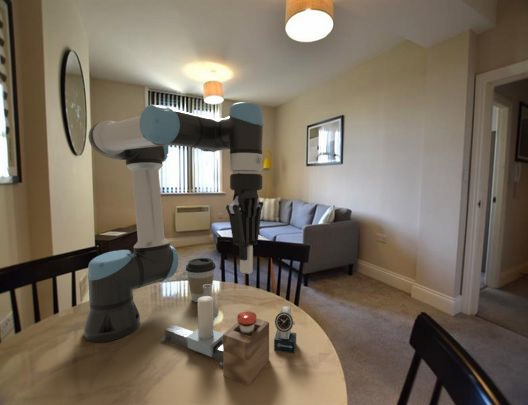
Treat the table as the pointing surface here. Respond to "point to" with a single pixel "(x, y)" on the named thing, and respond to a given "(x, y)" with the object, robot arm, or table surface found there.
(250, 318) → the button plunger
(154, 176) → the robot arm
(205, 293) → the flask
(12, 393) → the table surface
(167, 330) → the rail
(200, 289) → the coffee cup
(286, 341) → the watch
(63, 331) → the table surface
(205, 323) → the carriage
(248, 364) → the wooden button housing
